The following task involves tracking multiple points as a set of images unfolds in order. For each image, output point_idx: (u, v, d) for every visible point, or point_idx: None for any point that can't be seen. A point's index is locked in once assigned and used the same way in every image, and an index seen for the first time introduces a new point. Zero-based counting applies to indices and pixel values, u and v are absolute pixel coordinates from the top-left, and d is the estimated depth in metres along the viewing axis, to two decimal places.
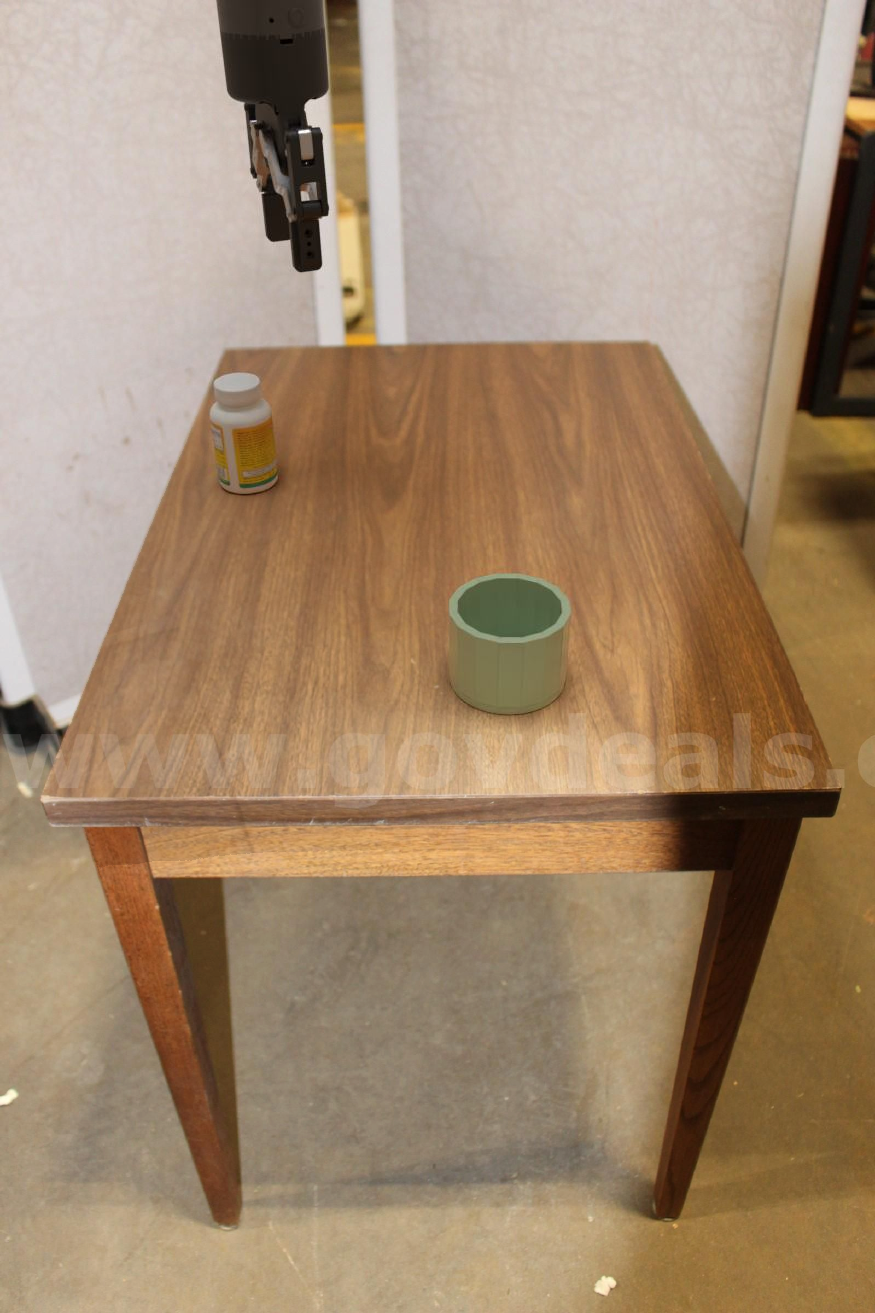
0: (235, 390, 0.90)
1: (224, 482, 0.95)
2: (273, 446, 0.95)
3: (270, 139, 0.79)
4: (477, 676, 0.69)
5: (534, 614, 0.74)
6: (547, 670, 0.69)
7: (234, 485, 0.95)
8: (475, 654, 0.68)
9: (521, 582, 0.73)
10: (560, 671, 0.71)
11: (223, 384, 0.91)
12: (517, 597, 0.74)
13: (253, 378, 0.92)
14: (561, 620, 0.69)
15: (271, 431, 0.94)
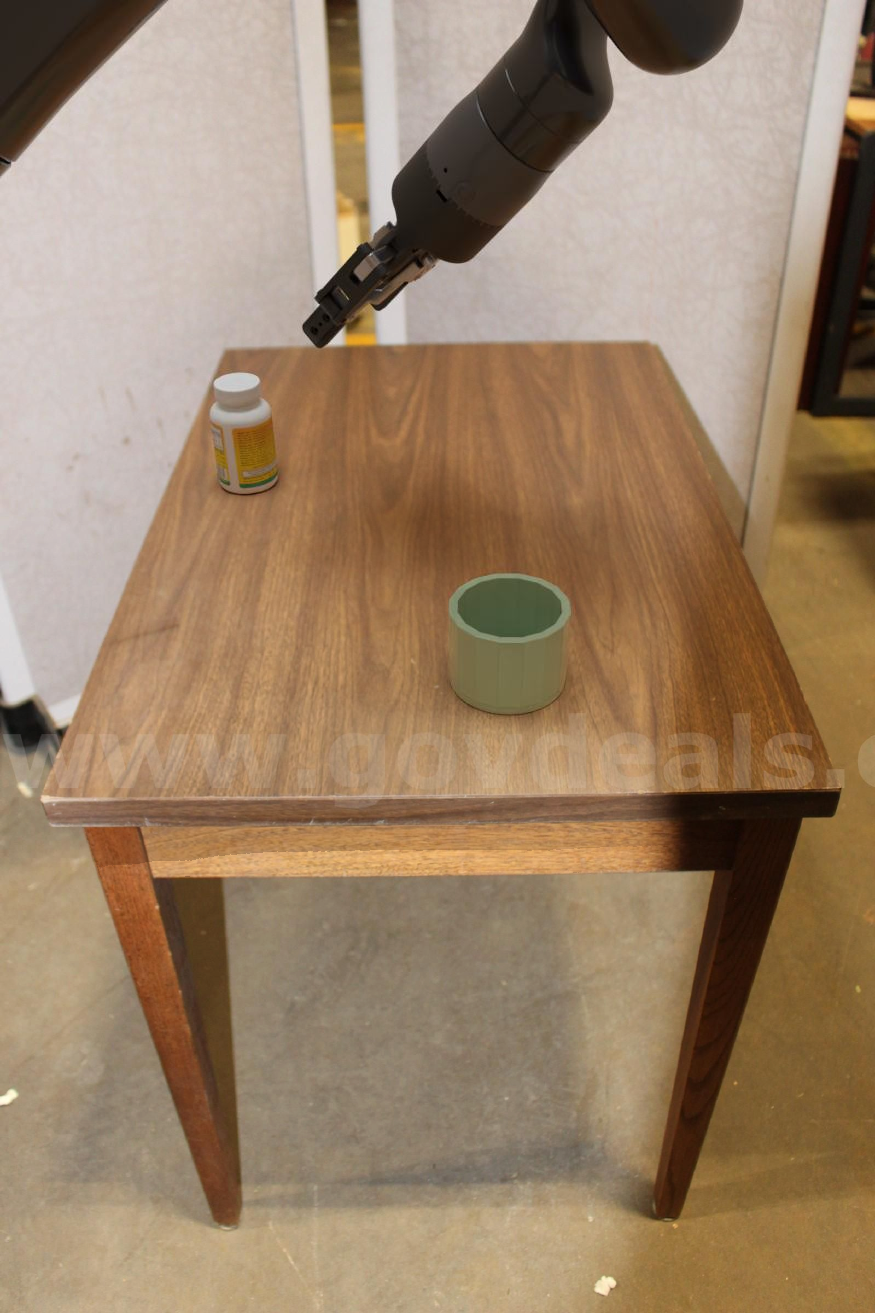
0: (235, 390, 0.90)
1: (224, 482, 0.95)
2: (273, 446, 0.95)
3: (383, 235, 0.74)
4: (477, 676, 0.69)
5: (534, 614, 0.74)
6: (547, 670, 0.69)
7: (233, 485, 0.95)
8: (475, 654, 0.68)
9: (521, 582, 0.73)
10: (560, 671, 0.71)
11: (223, 384, 0.91)
12: (517, 597, 0.74)
13: (253, 378, 0.92)
14: (561, 620, 0.69)
15: (271, 431, 0.94)
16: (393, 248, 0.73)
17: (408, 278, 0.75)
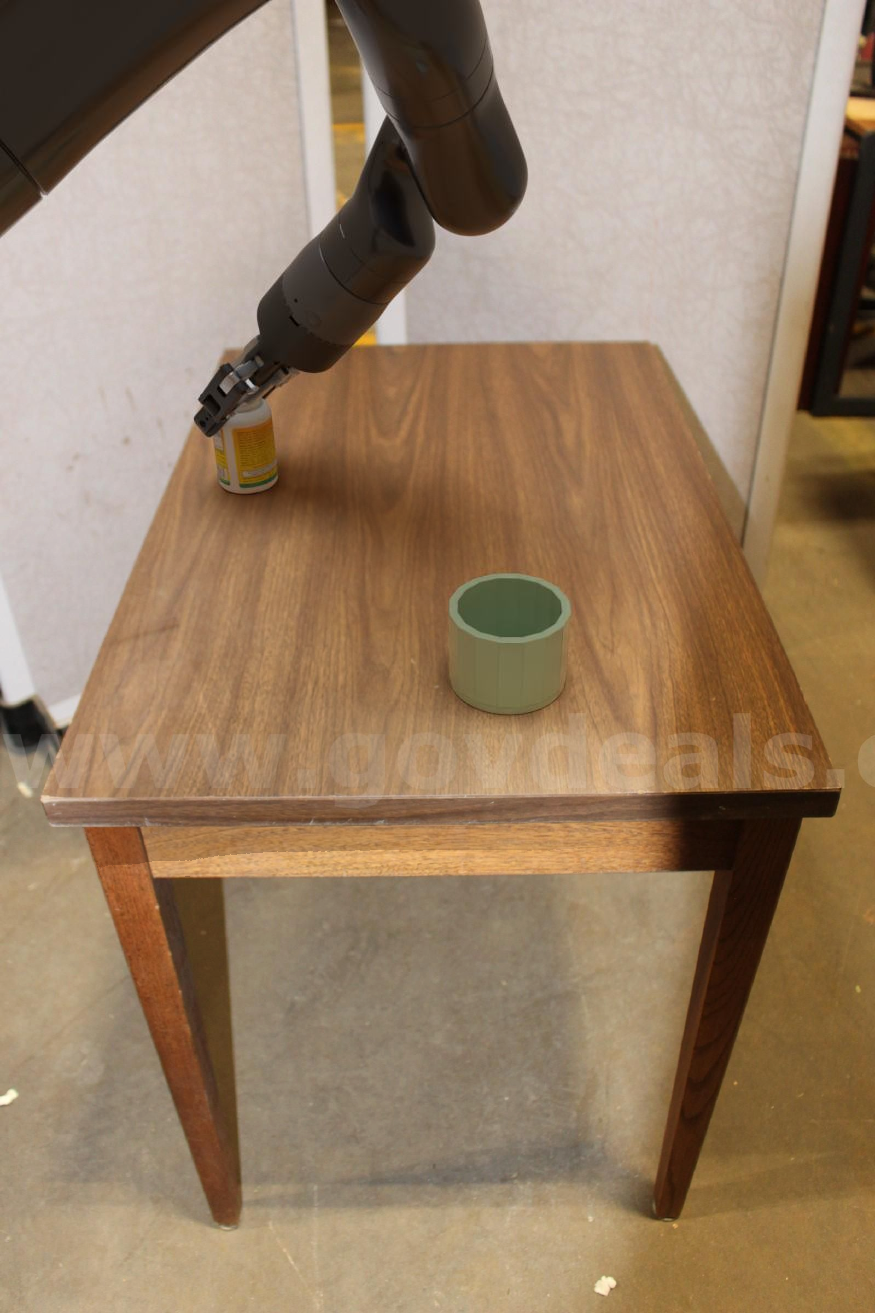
0: None
1: (224, 482, 0.95)
2: (273, 446, 0.95)
3: (252, 348, 0.86)
4: (477, 676, 0.69)
5: (534, 614, 0.74)
6: (547, 670, 0.69)
7: (233, 485, 0.95)
8: (475, 654, 0.68)
9: (521, 582, 0.73)
10: (560, 671, 0.71)
11: None
12: (517, 597, 0.74)
13: None
14: (561, 620, 0.69)
15: (271, 431, 0.94)
16: (256, 362, 0.84)
17: (275, 384, 0.86)
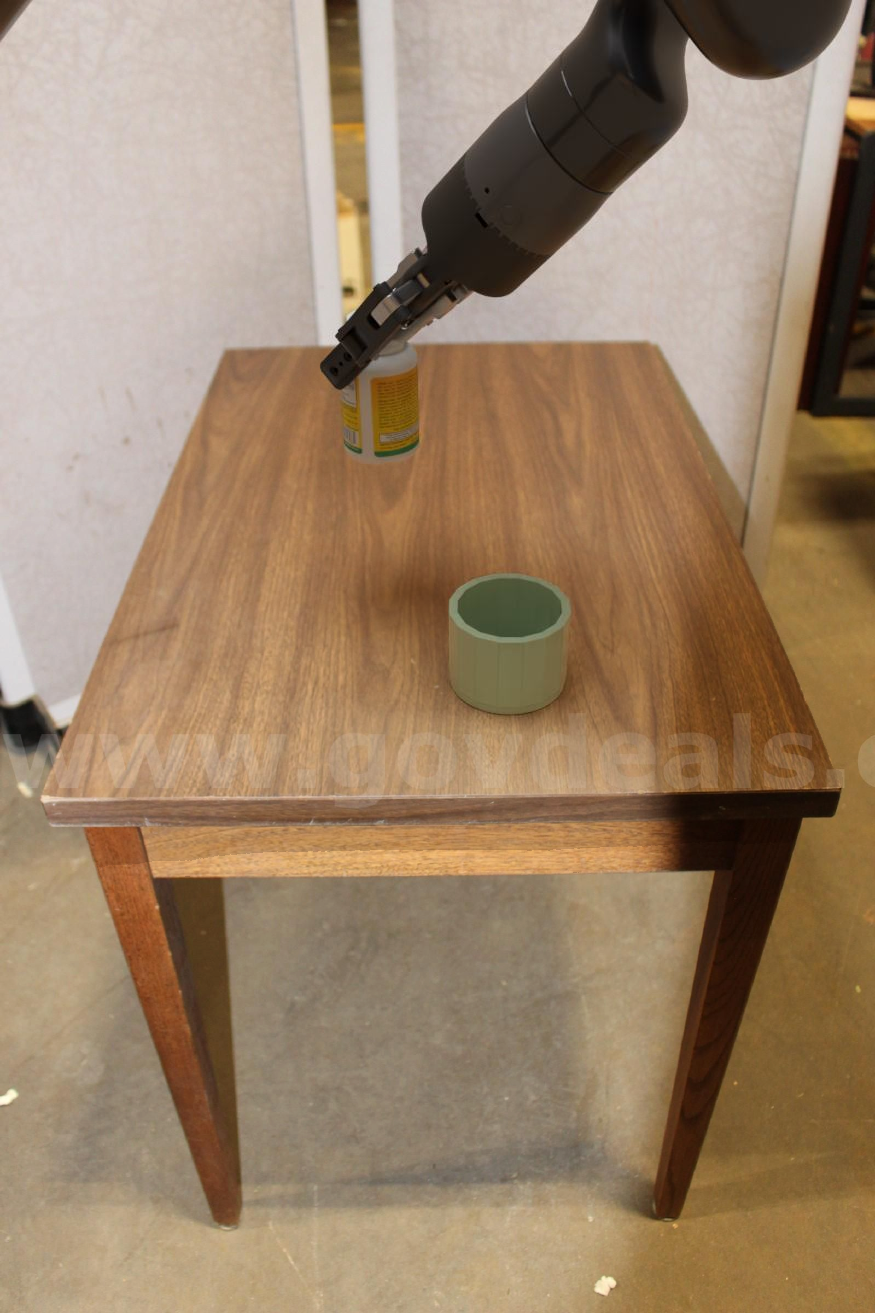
0: None
1: (354, 450, 0.74)
2: (418, 403, 0.73)
3: (409, 265, 0.64)
4: (477, 676, 0.69)
5: (534, 614, 0.74)
6: (547, 670, 0.69)
7: (367, 453, 0.73)
8: (475, 654, 0.68)
9: (521, 582, 0.73)
10: (560, 671, 0.71)
11: None
12: (517, 597, 0.74)
13: None
14: (561, 620, 0.69)
15: (417, 382, 0.72)
16: (420, 282, 0.63)
17: (437, 315, 0.65)
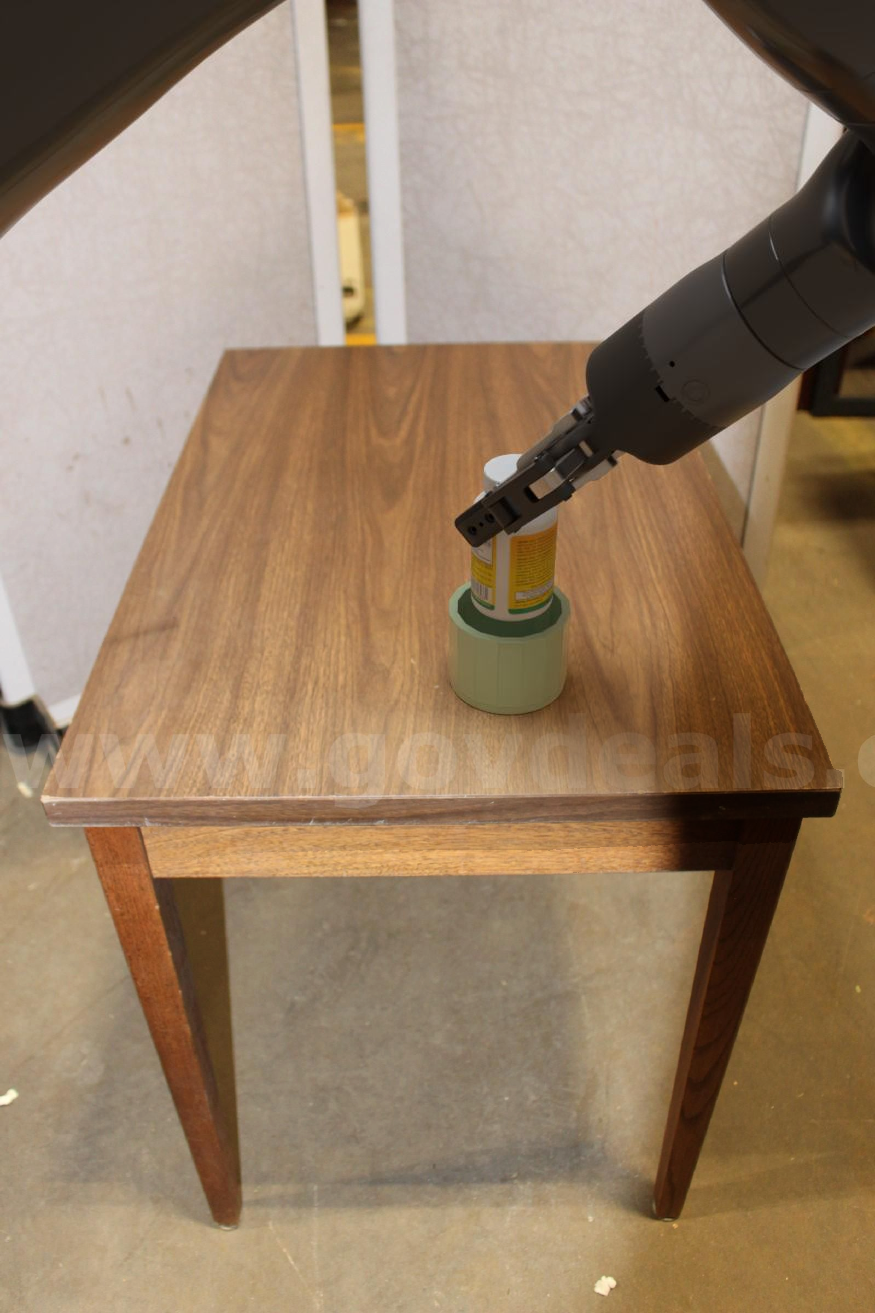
0: None
1: (485, 605, 0.68)
2: (555, 555, 0.67)
3: (565, 427, 0.58)
4: (477, 676, 0.69)
5: None
6: (547, 670, 0.69)
7: (500, 610, 0.67)
8: (475, 654, 0.68)
9: None
10: (560, 671, 0.71)
11: (499, 473, 0.64)
12: None
13: None
14: (561, 620, 0.69)
15: (556, 536, 0.66)
16: (582, 451, 0.57)
17: (595, 479, 0.59)
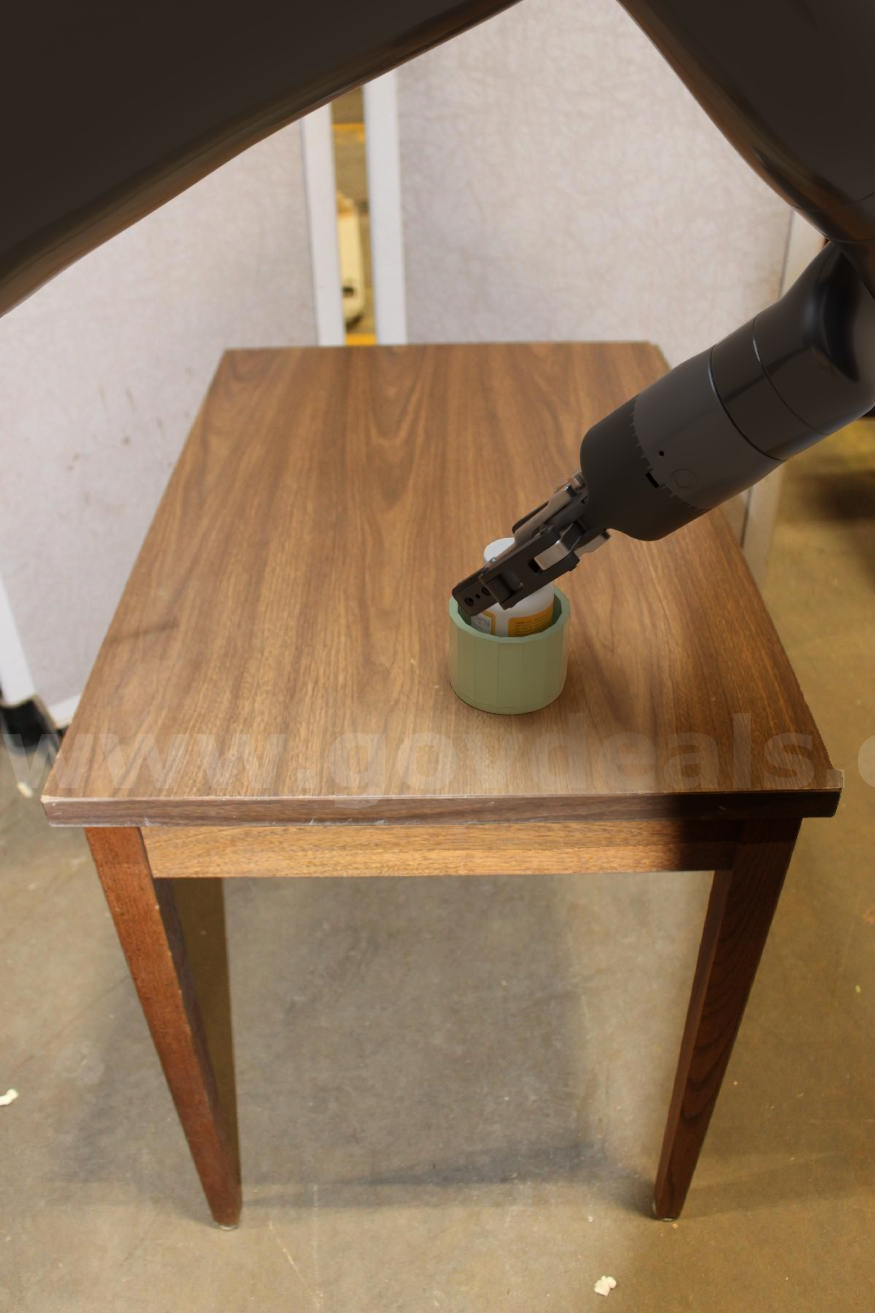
0: None
1: None
2: None
3: (563, 501, 0.61)
4: (477, 676, 0.69)
5: None
6: (547, 670, 0.69)
7: None
8: (475, 654, 0.68)
9: None
10: (560, 671, 0.71)
11: None
12: None
13: None
14: (561, 620, 0.69)
15: (552, 614, 0.70)
16: (579, 525, 0.59)
17: (590, 551, 0.62)
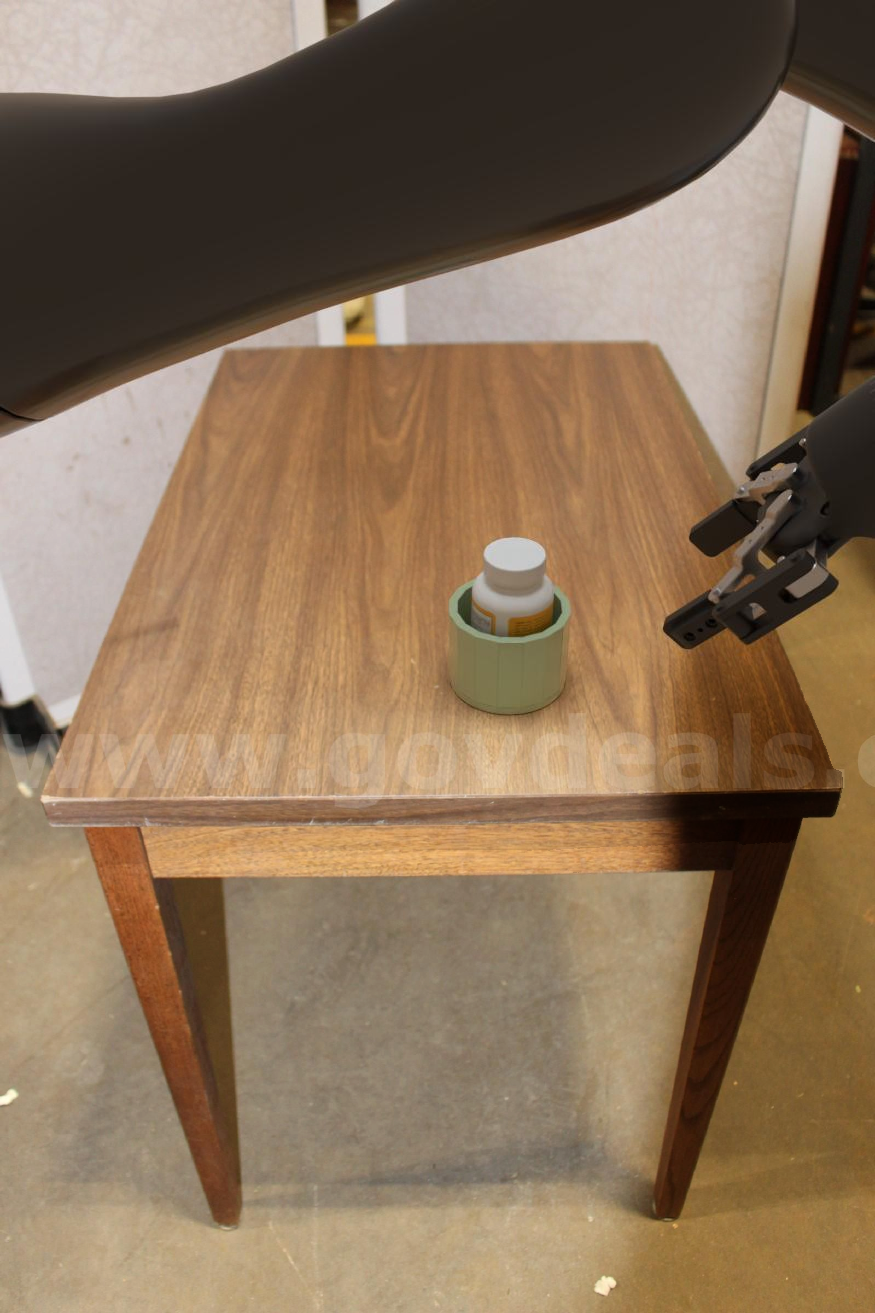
0: (519, 570, 0.66)
1: None
2: None
3: (788, 512, 0.55)
4: (477, 676, 0.69)
5: None
6: (547, 670, 0.69)
7: None
8: (475, 654, 0.68)
9: None
10: (560, 671, 0.71)
11: (498, 558, 0.67)
12: None
13: (535, 548, 0.68)
14: (561, 620, 0.69)
15: (552, 614, 0.70)
16: (821, 539, 0.53)
17: None
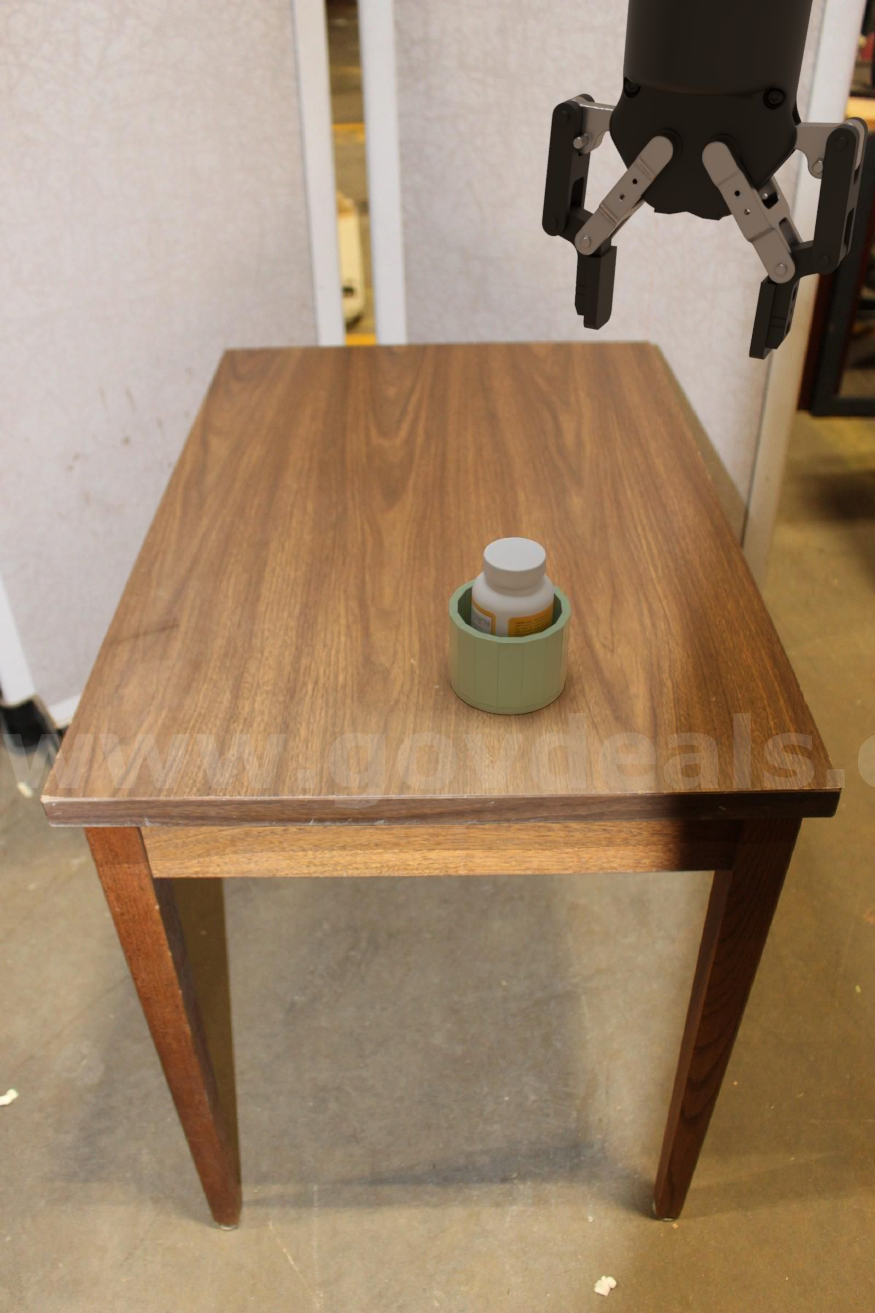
0: (519, 570, 0.66)
1: None
2: None
3: (736, 154, 0.46)
4: (477, 676, 0.69)
5: None
6: (547, 670, 0.69)
7: None
8: (475, 654, 0.68)
9: None
10: (560, 671, 0.71)
11: (498, 558, 0.67)
12: None
13: (535, 548, 0.68)
14: (561, 620, 0.69)
15: (552, 614, 0.70)
16: None
17: None
